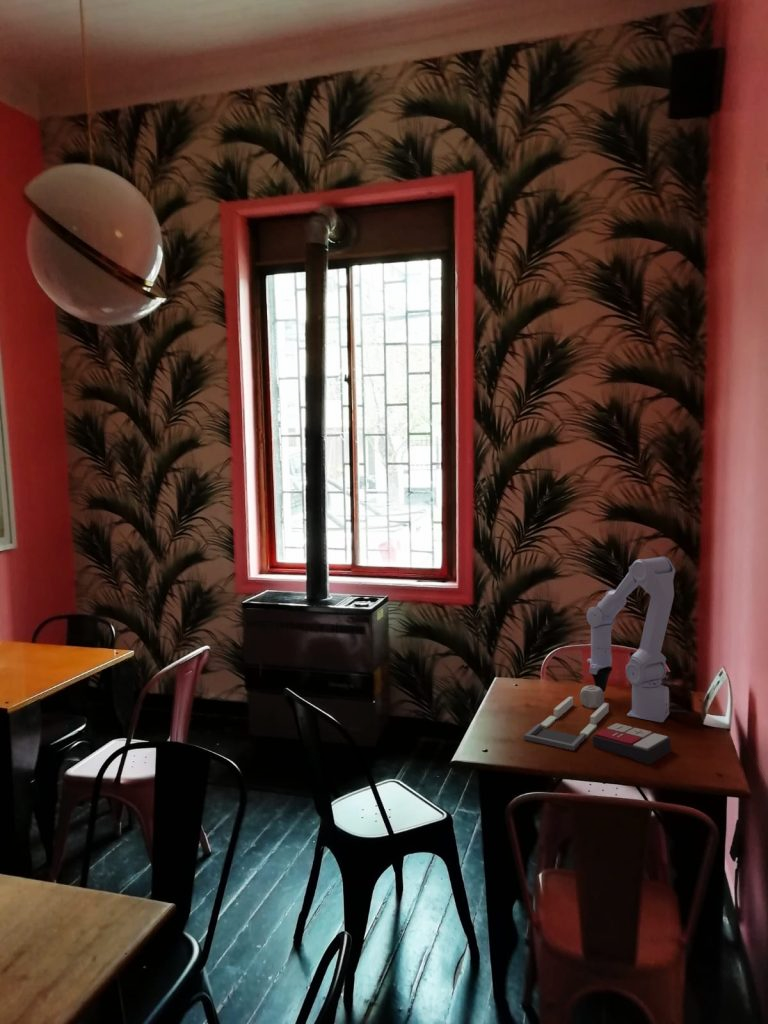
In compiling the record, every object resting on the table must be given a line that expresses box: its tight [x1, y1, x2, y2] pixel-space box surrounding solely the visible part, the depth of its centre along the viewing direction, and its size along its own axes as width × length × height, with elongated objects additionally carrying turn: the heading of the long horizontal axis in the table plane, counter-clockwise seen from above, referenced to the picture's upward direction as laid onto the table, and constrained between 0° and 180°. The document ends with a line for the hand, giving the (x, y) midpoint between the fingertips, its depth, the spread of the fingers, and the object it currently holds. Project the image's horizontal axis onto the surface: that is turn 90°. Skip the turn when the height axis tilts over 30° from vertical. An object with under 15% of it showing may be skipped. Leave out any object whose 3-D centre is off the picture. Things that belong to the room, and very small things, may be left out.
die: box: [579, 685, 605, 709], centre depth 205 cm, size 5×5×5 cm
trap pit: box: [523, 723, 587, 752], centre depth 182 cm, size 13×9×1 cm
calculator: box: [592, 723, 672, 766], centre depth 175 cm, size 11×4×15 cm
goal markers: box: [540, 715, 598, 738], centre depth 190 cm, size 13×8×1 cm, turn 55°
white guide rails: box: [553, 696, 610, 725], centre depth 198 cm, size 11×12×2 cm
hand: (600, 691), depth 212 cm, fingers closed
